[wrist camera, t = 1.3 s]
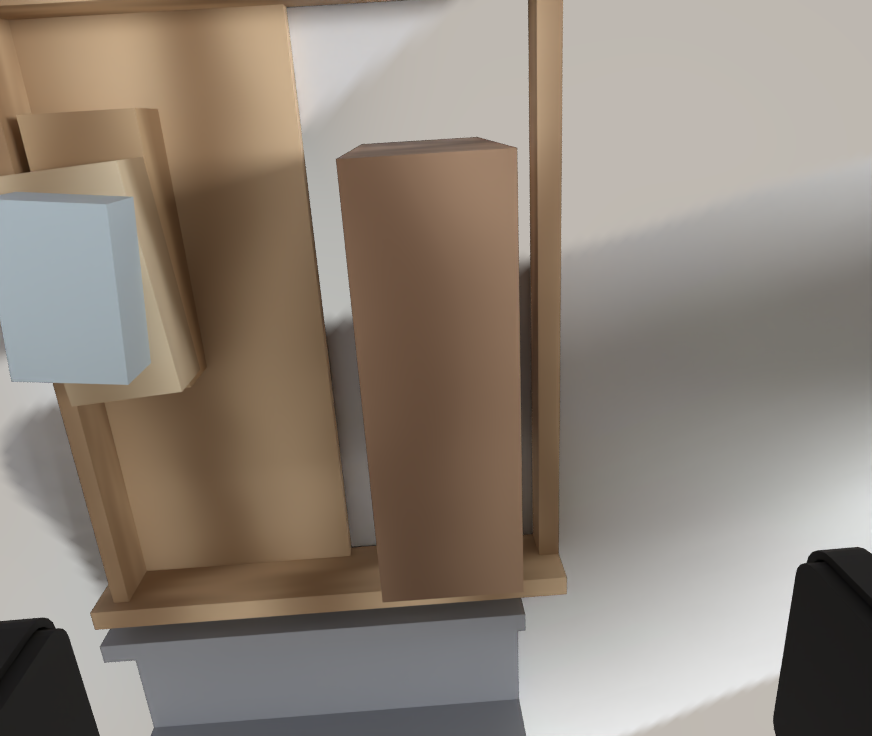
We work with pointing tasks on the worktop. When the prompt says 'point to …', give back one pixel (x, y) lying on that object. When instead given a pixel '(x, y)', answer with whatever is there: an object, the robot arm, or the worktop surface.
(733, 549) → the worktop surface
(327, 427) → the tray
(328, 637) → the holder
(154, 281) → the offcut
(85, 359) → the offcut
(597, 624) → the worktop surface
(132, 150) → the offcut
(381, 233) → the brown rectangular block
